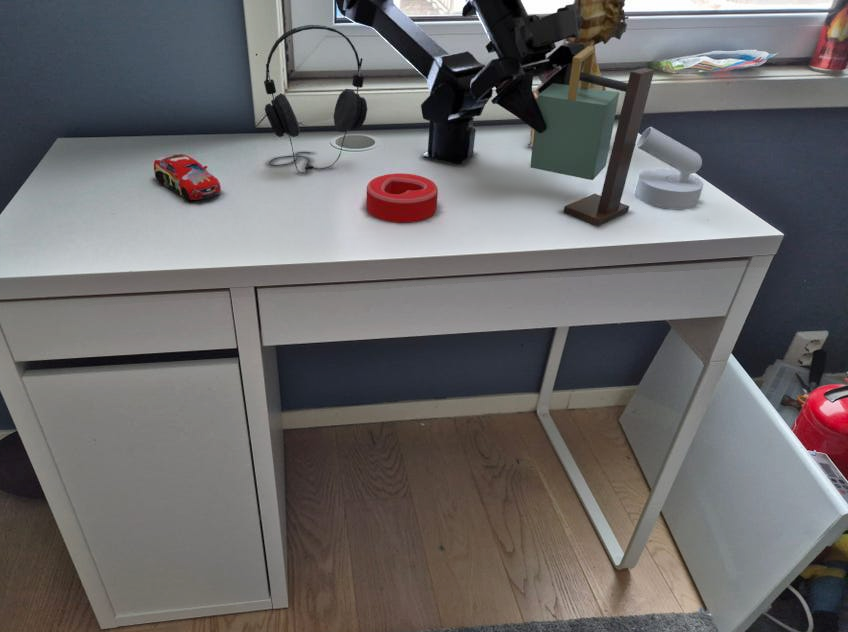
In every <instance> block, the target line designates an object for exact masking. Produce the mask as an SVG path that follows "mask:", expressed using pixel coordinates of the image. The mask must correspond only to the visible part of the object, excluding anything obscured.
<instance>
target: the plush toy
mask: <svg viewBox="0 0 848 632" xmlns="http://www.w3.org/2000/svg"><path fill="white" fill-rule="evenodd" d="M625 2H626V0H573V3H572V4H575V6H576V7H577V9H579V12H580V14H581V15H582V16H583V18H584V20H583V22H582V26H581V28H580V29H578V31H579V36H577V37H574V38H571V37H569V38H567V39H564V40H563V42H562V44H561V45H565V44H570V43H574V42H576V43H581V44H583V45H584V47H585V48H586V47H588V46H592V47H596V45H598V44H600V43H603V44H604V45H606V44H607V43H609V41H610V40H611V39H613V38H615V39H617V40H618V41H619V40H621V38H622V35H624V33H626V31H627V27H628V24H627V23H626V20H628V19H629V16H626V14H625V13H626V12H625V9H624V7H625V6H626V5H625ZM596 55H597V54H596V53H595V54H594V61H593V67H592V73H591V74H592V75H596V76H600V77H603V75H602V73H601V69H600V66H599V63H598V60H597V56H596ZM582 63H583V66H582V71H581V72H583V68H584V62H582ZM542 85H543V84H542V82H541V81H540V83H539V84H538V85H537V87H535V89H532V91H533V94H534V96H535V99H536V101H537V99H538V95H539V94H540V93H539V92H538V91H537V89H538V88H540V87H541V86H542ZM578 87H581V81H579V84H578ZM589 88H592V89H599V90H606V91H607V88H606V87H604V86H600V85H595V84H591V83H590V86H589ZM533 136H534V129H533V128H532V127H530V140H529V141H530V142H529V143H527V146H529V147H530V148H532V146H533Z"/></svg>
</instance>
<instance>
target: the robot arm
mask: <svg viewBox="0 0 848 632" xmlns="http://www.w3.org/2000/svg"><path fill="white" fill-rule="evenodd" d="M395 2H396V1H395V0H335V3H336V7H337V9H338V11H339V13H340V14H341V15H342V16H343V17H344V18H346V19H347V20H349V21H351V22H353V23H354V24H358V25H359V26H364V27H367V28H371V29H373V30H374V31H375V32H376V33H377V34H378V35H379V36H380V37H381V38H382V39H384V41H386V42H387V44H389V45H390V47H392V48H393V49H394V50H395V51H396V52H397V53H398V54H399V55H400V56H402V58H403V59H404V60H406V61H407V63H409V64H410V65H411V66H412V67H413V68H414V69H415V70H416V71H417V72H418V73H419V74H420V75H421V76H422V77H423V78H424V79H425V80H426V82H427V83H426V84H427V87H428V94H429V95H428V97H426V99H425V100H424V101H422V103H421V104H420V109H421V116H422V119H423V120H425V121H428V122H429V124H428V125H429V126H428V140H427V141H428V142H427V151H426V152H425V153H423V155H422V158H423V159H427V160H430V161H431V160H432V161H436V162H442V163H447V164H453V165H458V166H459V165H462V164H463V163H464V162H466V161H467V160H468V159H469V158H470V157H471V156H473V154H474V152H475V151H474V149H475V142H476V141H475V140H476V131H477V129H476V127H474V120H475V117H480V116H482V113H483V111H484V108H485V106H486V104H487V103H488V102H489V100H490V99H491V98H492V97H493V92H494V90H495V93H496V96H495V97H493V98H492V99H491V101H490V102H491V103H492V104H493V105H498V106H500V107H501V108H503V109H504V110H506V111H507V112H509V113H510V114H512V115H513V116H515V117H517V118H518V119H519V120H521V121H522V122H523V123H525V124H526V125H528V126H529V127H530V128H531V127H532V128H533V129H534V130H536V131H537V132H538V133H543V132H544V131H545V130H546V125H545V122H544V118H543V116H542V113H541V111H540V109H539V106H538V104H537V101H536V99H535V96H534V94H533V82H534V78H535V77H538V78H539V80H540V83H541V82H542V84H543V85H542V86H541V87H540V88H538V89H537V91H538V92H539V93H541V92H543V91H544V90H545V89H547V88H548V87H549V86H550V85H552V84H553V83H555V84H562V85H569V84H570V76H571V69H572V62H573V57H574V56H576V55H577V54H578V53H580V52H581V51H582V50H584V49H585V47H584V45H583V44H581V43H576V42H574V43H570V44H565V45H562V44H561V45H559V46H558V47H557V46H556V43H559V42H562V41H564V39H567V38H569V37H571V38H574V37H577V36H579V31H578V29H580V28H581V26H582V22H583V20H584V18H583V16H582V15H581V14H580V12H579V9H577V7H576V6H575V4H573V3H572V4H566V5H564V6H563V7H558V8H557V10H556V12H553V13H551V14H548V15H545V16H543V17H540V16H539V15H536V14H531V15H529V14H528V11H527V10H526V8H525V6H524V3H523V2H522V0H464V4H463V7H462V10H461V17H463V18H466V17H467V18H468V17H473V16H477V17H478V19H479V21H480V23H481V25H482V27H483V29H484V31H485V33H486V35H487V37H488V40H489V42H488V43H487V44H486V45H485V49H486V51H487V53H488V54H491V53H495V54H496V56H497V58H493V59H490V61H489V62H488V63H487V64H483V63H481V62H479V61H478V60H477V58H475V56H474V55H473V54H472V53H471V52H470V51H468V50H467V51H462V52H457V53H452V54H449V53H448V52H447V51H446V50H445V49H444V48H443V47H442V46H441V45H439V44H438V42H437V41H435V40H434V39H433V38H432V37H431V36H430V35H429V34H428V33H427V32H426V31H424V30H423V28H421V26H419V25H418V24H417V23H415V22H414V20H412V19H411V18H410V17H409V16H408V15H407V14H406V13H404V11H402V10H401V9H400V8H399V7H398V6H397V5H396V3H395ZM551 52H552V53H551ZM549 53H550V54H549ZM548 54H549V55H548ZM547 55H548V56H547ZM584 61H585V60H583V61H582V62H584ZM494 88H495V89H494ZM493 89H494V90H493Z"/></svg>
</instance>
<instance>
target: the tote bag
mask: <svg viewBox="0 0 848 632" xmlns="http://www.w3.org/2000/svg"><path fill="white" fill-rule="evenodd" d="M594 54H596V46H594V47H592V46H588V47H586V48H585V49H584V50H582V51H581V52H580V53H578V54H577V55H576V56H574V57H573V62H572V69H571V76H570V84H569V85H562V84H555V83H553V84H552V85H550V86H549V87H548V88H547V89H545V90H544V91H543V92H541V93H540V94H539V95H538V99H537V104H538V106H539V109H540V111H541V113H542V116H543V118H544V122H545V125H546V130H545V131H544V132H543V133H538V132H537V131H536V130H534V136H533V146H532V147H531V157H530V165H529V167H530V168H531V169H536V170H540V171H545V172H548V173H549V172H550V173H555V174H560V175H565V176H568V177H569V176H570V177H574V178H580V179H585V180H589V181H594V180H595V179H596V178H597V176H599V174H601V172H602V171H603V170H604V169H605V168H606V166H607V162H608V157H609V151H610V147H611V142H612V141H611V140H612V135H613V130H614V124H615V119H616V113H617V108H618V103H619V97H620V91H613V90H607V89H606V90H599V89H592V88H589V86H590V83H587V82H583V81H581V87H578V84H579V77H580V71H581V64H582V61H583V60H585V61H584V68H583V73H588V74H591V73H592V67H593V61H594Z"/></svg>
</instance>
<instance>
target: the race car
mask: <svg viewBox="0 0 848 632" xmlns="http://www.w3.org/2000/svg"><path fill="white" fill-rule="evenodd" d="M207 169H208V165H204V166H203V165H202V164H201V162H199V161H197V160H196V159H195V158H193V157H191V156H189V155H187V154H182V153H180V154H169V155H165V156H161V157H157V158H156V159H155V160H154V162H153V173H154V177H155V178H156V180H157V181H158V183H159V184H160V185H161V186H163V185H165V186H166V187H167V188H169V189H171V190H172V191H174V192H175V193H177V194H178V195H180V196H181V197H183V199H184V200H185V202H190V201H196V200H197V201H198V200H205V199H209V198H213V197H215V196H217V195H218V194H220V193H221V191H222V189H221V187H222V186H221V183H220V180H218V178H217V177H215V176H214V175H213V174H212V173H210V172H209V171H208V170H207Z"/></svg>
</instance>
